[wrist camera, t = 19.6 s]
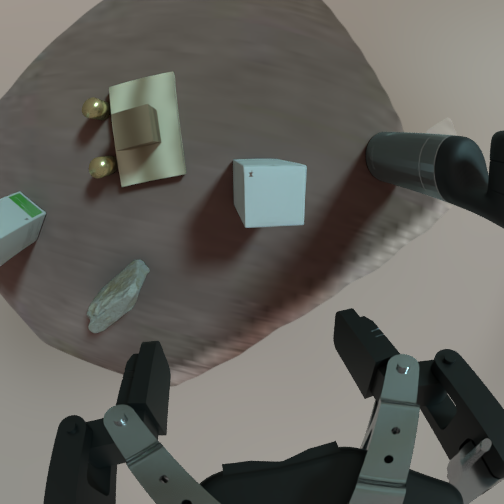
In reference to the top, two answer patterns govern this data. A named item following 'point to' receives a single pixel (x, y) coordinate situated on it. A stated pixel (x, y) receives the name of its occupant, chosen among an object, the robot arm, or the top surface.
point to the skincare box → (18, 224)
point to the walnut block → (136, 128)
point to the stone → (117, 297)
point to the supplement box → (269, 192)
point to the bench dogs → (101, 112)
